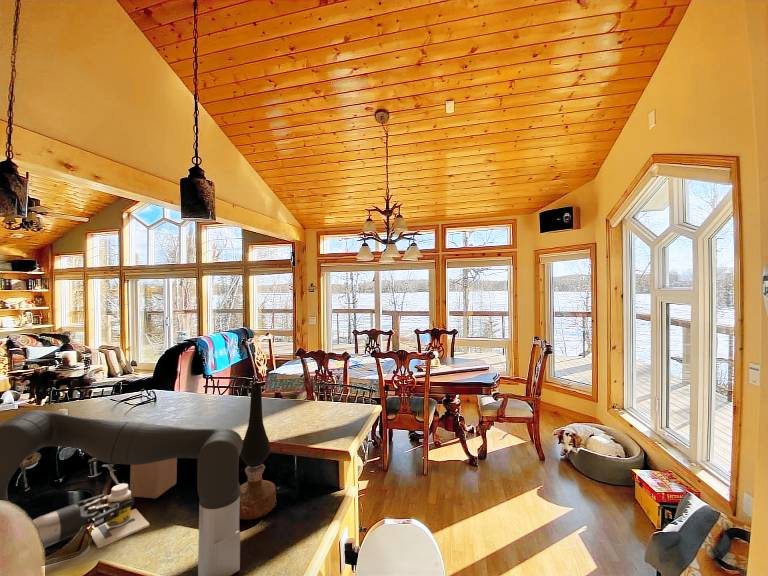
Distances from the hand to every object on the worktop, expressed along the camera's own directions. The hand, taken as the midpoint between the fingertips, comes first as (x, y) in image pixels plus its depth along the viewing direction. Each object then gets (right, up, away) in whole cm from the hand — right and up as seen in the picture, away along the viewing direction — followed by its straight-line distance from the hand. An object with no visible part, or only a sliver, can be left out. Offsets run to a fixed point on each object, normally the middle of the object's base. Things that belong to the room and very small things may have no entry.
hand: (129, 497), depth 105 cm
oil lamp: (+34, -8, +9) cm, 36 cm away
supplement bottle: (-1, -6, -2) cm, 7 cm away
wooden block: (-4, -8, +18) cm, 20 cm away
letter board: (-1, -8, -2) cm, 8 cm away
